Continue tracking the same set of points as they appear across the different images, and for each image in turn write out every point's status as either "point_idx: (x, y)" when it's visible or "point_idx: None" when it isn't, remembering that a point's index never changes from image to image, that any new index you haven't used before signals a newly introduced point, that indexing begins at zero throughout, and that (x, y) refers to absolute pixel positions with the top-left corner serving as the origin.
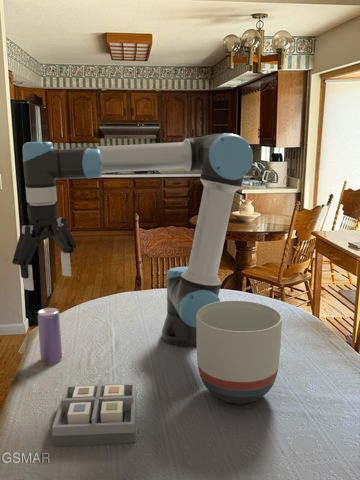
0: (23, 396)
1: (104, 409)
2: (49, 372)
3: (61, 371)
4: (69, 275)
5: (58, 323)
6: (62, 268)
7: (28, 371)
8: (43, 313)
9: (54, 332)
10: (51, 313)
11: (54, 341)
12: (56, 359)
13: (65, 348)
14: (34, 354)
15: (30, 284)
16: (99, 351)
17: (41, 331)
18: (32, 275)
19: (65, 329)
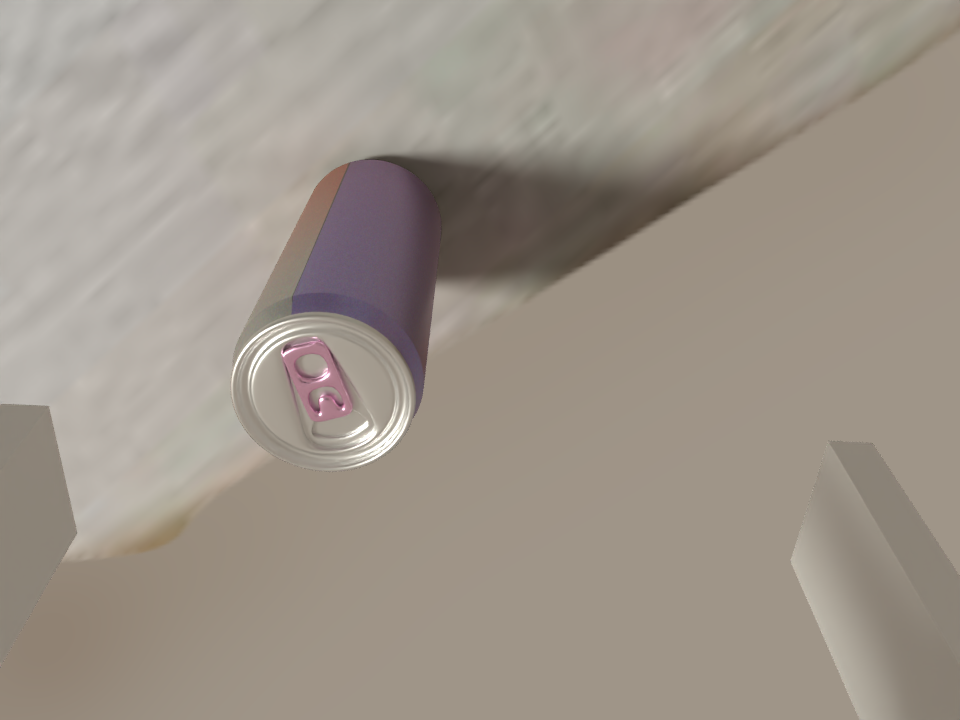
0: (815, 48)
1: None
2: (509, 117)
3: (463, 54)
4: (40, 415)
5: (312, 264)
6: (27, 604)
7: (556, 240)
8: (380, 403)
9: (372, 243)
10: (341, 345)
11: (385, 216)
12: (392, 167)
13: (206, 251)
14: None
15: (910, 513)
16: (90, 6)
17: (430, 327)
18: (933, 609)
19: None
